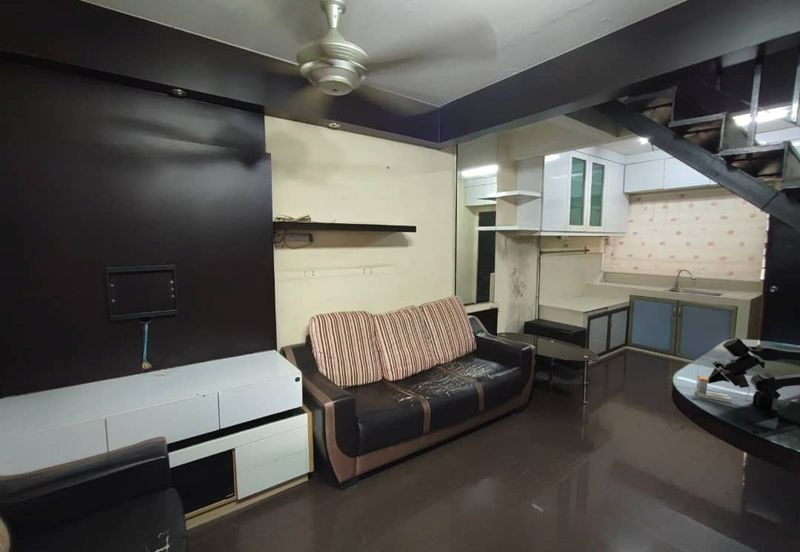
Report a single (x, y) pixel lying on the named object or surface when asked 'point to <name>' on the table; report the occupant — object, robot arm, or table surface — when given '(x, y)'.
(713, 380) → the robot arm
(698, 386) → the handle
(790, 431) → the table surface
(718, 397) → the block
